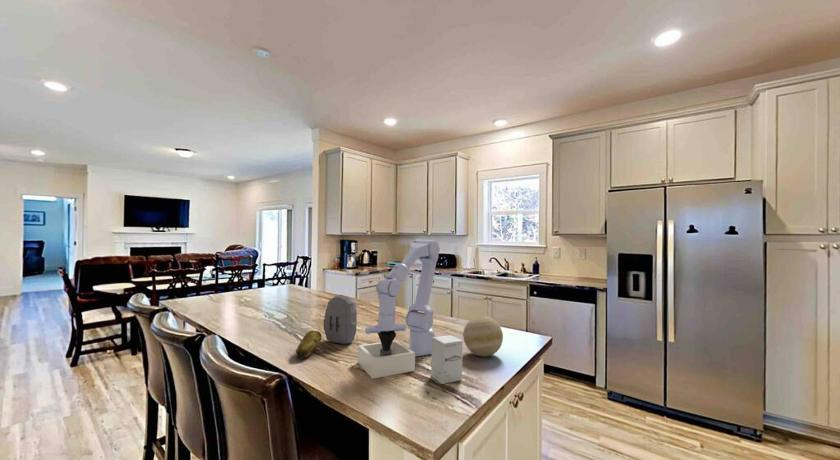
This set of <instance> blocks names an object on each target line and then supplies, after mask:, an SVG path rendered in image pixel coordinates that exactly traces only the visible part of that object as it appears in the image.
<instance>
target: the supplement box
mask: <svg viewBox="0 0 840 460" xmlns="http://www.w3.org/2000/svg"><path fill="white" fill-rule="evenodd" d="M430 363H431V366H430V367H431V369H430V370H431V371H430V373H431V374H430V376H431V377H432V378H433V379H435V380H436V381H437V382H439V383H440V384H441V385H445V384H449V383H453V382H458V381H462V378H463V377H462V376H463V375H462V374H463V371H462V370H463V369H462V368H463V340H462V339H459V338H458V337H456V336H453V335H451V334H449V335H442V336H435V337H432V354H431V362H430Z"/></svg>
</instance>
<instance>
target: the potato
mask: <svg viewBox="0 0 840 460" xmlns="http://www.w3.org/2000/svg"><path fill="white" fill-rule="evenodd" d="M321 340H322V333H321V332H320V331H318V330H310V331H308V332H306V333H305V335H304V336H303V338H302V339H301V341H300V342H299V345H297V348H296V350H295V354H296V356H297V358H299V359H301V360H303V359H306V358H308V356H310V354H312V353H313V352H314V351H315V350H316V348H318V346H319V345H320V343H321Z"/></svg>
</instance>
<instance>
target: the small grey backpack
mask: <svg viewBox="0 0 840 460" xmlns="http://www.w3.org/2000/svg"><path fill="white" fill-rule="evenodd" d="M357 314H358V311H357V305H356V302H355V301H354V300H353V298H352V297H350V296H348V295H344V294H337V295H334V296H333V297H332V298H331V299H329V301H328V302H327V305H326V309H325V313H324V319H323V330H324V334H325V337H326V340H327V341H328V342H331V343H335V344H343V345H344V344H345V345H346V344H352V343H353V342H354V339H355V336H356V334H357V325H358V324H357V322H358V319H357V316H358V315H357Z"/></svg>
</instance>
